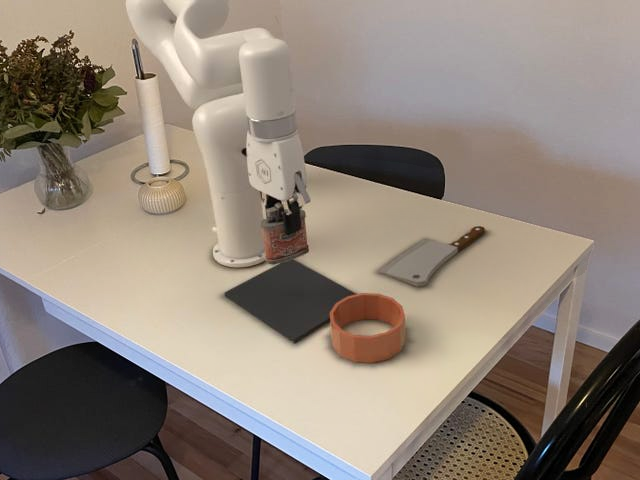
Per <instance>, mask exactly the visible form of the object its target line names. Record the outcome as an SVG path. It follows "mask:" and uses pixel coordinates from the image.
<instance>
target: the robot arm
mask: <svg viewBox="0 0 640 480" xmlns="http://www.w3.org/2000/svg"><path fill="white" fill-rule="evenodd" d="M125 9H126V13H127V17H128V20H129V22H130V24H131V26H132V29H133V31H134V32H135V34H136V36H137V38H138V39H139V40H140V42H141V43H142V44H143V45H144V47H145V48H146V50H148V51H149V52H150V53H151V54H152V55H153V56H154V57H155V58H156V59H157V60H158V61H159V63H161V65H162V66H163V67H164V69H165V72H166V73H167V75H168V76H169V79H170V80H171V81H172V84H173V85H174V87H175V89H176V90H177V92H178V93H179V96H180V97H181V99H182V100H183V101H184V103H185V104H186V105H187V106H188V107H189V108H190V109H192V110H195V111H194V113H193V115H192V120H191V124H192V129H193V134H194V137H195V139H196V142H197V144H198V147H199V150H200V154H201V156H202V161H203V164H204V168H205V173H206V178H207V184H208V188H209V193H210V200H211V205H212V212H213V217H214V222H215V225H214V226H213V227H212V228H211V229H212V230H211V231H212V232H213V233H214V234H216V236H217V243H215V245H214V246H213V248H212V254H213V258H214V260H215V261H216V262H217V263H218V264H220V265H222V266H225V267H229V268H247V267H248V268H249V267H252V266H256V265H259V264H262V263H264V262H266V259H265V256H266V251H265V244H264V236H263V229H262V228H261V221H263V220H264V211H263V204H264V208H265V209H264V210H265V212H266V209H269V208H272V207H274V205H275V204H276V203H281V204H283V206H284V211H285V213H284V214H283V223H284V231H285V234H286V235H288V236H289V235H291V234H293V233H295V232H297V231H299V230H300V229H301V218H300V210H303V207H304V206H305V205H307V204H310V203H311V201H312V200H311V197H310V195H309V193H308V191H307V188H308V179H307V170H306V168H307V167H306V163H305V161H306V160H305V156H304V152H303V147H302V143H301V142H302V141H301V138H300V135H299V133H298V122H297V121H298V120H297V113H296V112H297V109H296V99H295V89H294V88H295V87H294V77H293V67H292V59H291V49H290V47H289V45H288V43H287V42H286V41H284V40H282V39H280V38H275V36H274V35H273V34H272V32H270V30H267V29H266V28H263V27H252V28H247V29H243V30H239V31H232V32H228V33H224V34H217V33H218V32H219V31H220V30H221V29H222V27H223V26H224V25H225V23H226V21H227V20H228V19H227V18H228V15H229V0H125ZM174 24H175V25H174ZM216 34H217V35H216ZM244 148H247V157H246V156H245V155H243V154H242V152H241V151H242V150H243V149H244ZM260 193H261V195H262V199H261V195H260ZM290 200H294V202H292V203H291V204H290V202H289V201H290ZM265 219H267V215H266V214H265Z"/></svg>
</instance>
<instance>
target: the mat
mask: <svg viewBox="0 0 640 480" xmlns="http://www.w3.org/2000/svg"><path fill="white" fill-rule="evenodd" d="M356 294H357V293H356V292H354V291H352V290H350V289H349V288H346V287H345V286H343V285H341V284H339V283H337V282H336V281H334V280H332V279H330V278H328V277H326V276H325V275H323V274H321V273H319V272H317V271H315V270H314V269H312V268H311V267H308V266H306V265H305V264H302V263H301V262H299V261H297V260H295V259H293V260H290V261H287V262H283V263H279V264H275V265H273V266H272V267H270V268H269V269H267V270H264V271H262V272H261V273H259V274H257V275H254V276H253V277H251V278H249V279H247V280H246V281H243V282H242V283H240V284H238V285H236V286H234V287H232V288H230V289H229V290H226V291H224V297H225V298H227V299H229V300H230V301H231V302H233V303H235V304H236V305H238V306H239V307H240V308H242V309H244V310H245V311H246V312H248V313H250V314H251V316H254V317H255V318H257V319H258V320H260V321H261V322H263V323H264V324H266V325H267V326H268V327H270V328H272V330H274V331H276V332H277V333H279V334H280V335H282V336H283V337H285V338H286V339H288V340H289V341H291V342H292V343H294V344H296V343H298V342H299V341H301V340H302V339H303V338H305V337H308V335H310V334H312V333H313V332H315V331H317V330H318V329H320V328H322V327H324V326H325V325H326V324H327V325H328V323H329V322H330V312H331V310H332V308H333V307H334V305H335V304H336V303H337V302H339V301H341V300H342V299H344V298H346V297H348V296H352V295H356Z"/></svg>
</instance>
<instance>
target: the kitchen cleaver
mask: <svg viewBox="0 0 640 480" xmlns="http://www.w3.org/2000/svg"><path fill="white" fill-rule="evenodd" d="M485 232H486V228H485V227H484V226H482V225H480V226H479V225H477V226H473V227H471V229H470V231H469V232H467V233H464V234H463V235H461V237H460V238H459V239H457V240H455V241H452V242H451V243H444V242H439V241H434V240H429V239H423V240H422V241H420V242H418V243H417V244H415V245H413V246H412V247H411V248H409V249H407V250H406V251H404V252H403V253H401V254H400V255H398V256H397V257H396V258H394V259H393V260H391V262H389V263H388V264H386V265H385V266H384V267H382V269H380V270H379V273H380V274H382V275H386V276H388V277H391V278H394V279H396V280H399V281H401V282H403V283H407V284H408V285H411V286H414V287H417V288H419V287H424V286H427V284H428V282H429V281H430V278H431V277H432V276H433V274H435V272H436V271H437V270H438V269H439V268H440V267H441V266H442V265H444V263H446V262H447V261H448V260H449V259H451V258H452V257H453V256H455V255H457V254H458V253H459V252H461V250H463V249H464V248H466V247H467V246H468V245H470V244H471V243H473V242H474V241H475V240H477V239H479V238H480V237H481V236H483V235H484V234H485Z"/></svg>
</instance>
